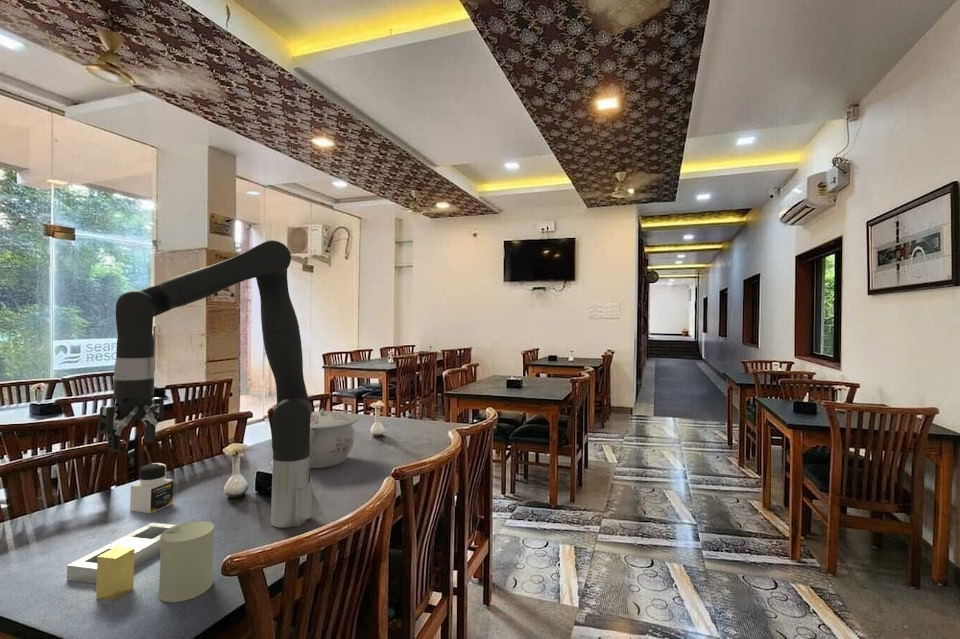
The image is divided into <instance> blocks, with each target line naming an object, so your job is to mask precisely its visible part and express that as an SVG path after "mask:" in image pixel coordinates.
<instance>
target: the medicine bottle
mask: <svg viewBox="0 0 960 639" xmlns="http://www.w3.org/2000/svg"><path fill="white" fill-rule="evenodd" d="M172 504H174V479H171V478H167V465H166V464H165V463H161V462H153V463H148V464H145V465H143V466H141V467H140V469H139V481H138V482H137V483H134V484H132V485H131V486H130V502H129V510H130V511H131V512H137V513H142V514H143V513H144V514H153V513H155V512H158V511H159V510H162V509H164V508H166V507H168V506H171V505H172Z"/></svg>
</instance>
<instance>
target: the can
mask: <svg viewBox="0 0 960 639" xmlns="http://www.w3.org/2000/svg"><path fill="white" fill-rule="evenodd" d="M175 525H176V526H173V527H171V528H169V529H167V530H165V531H164V532H163V533H162V534H161V536H160V539H161V552H159V553H160V557H159V558H160V560H159V562H160V563H159V564H160V565H159V587H158V593H157V597H158V598H159V600H160V601H162V602H164V603H165V602H166V603H180V602H185V601H189V600H192V599H195V598H197V597H200V596H201V595H203V594H204V593H206V592H207V591H208V590H210V588H212V586H213V583H214V579H213V562H214V561H213V560H214V559H213V558H214V532H215V524H214V523H212V522H211V521H208V520H207V521H205V520H193V521H189V522H188V521H187V522H182V523H179V524H175Z"/></svg>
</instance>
